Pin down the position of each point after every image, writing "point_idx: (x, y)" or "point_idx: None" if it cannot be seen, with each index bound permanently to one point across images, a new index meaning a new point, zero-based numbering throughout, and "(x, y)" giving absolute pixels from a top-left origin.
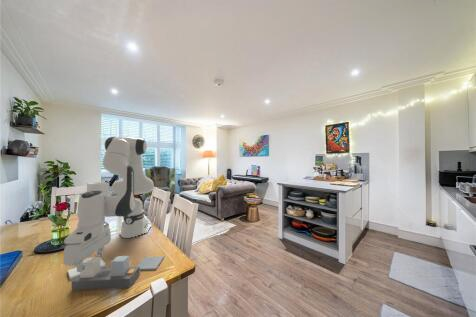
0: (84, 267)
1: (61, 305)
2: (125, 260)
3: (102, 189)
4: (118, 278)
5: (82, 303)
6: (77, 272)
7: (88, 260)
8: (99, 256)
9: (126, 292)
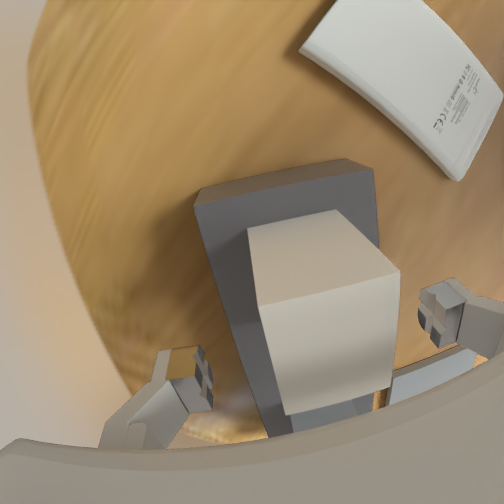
0: (209, 391)
1: (104, 261)
2: None
3: None
4: (273, 435)
5: (148, 344)
6: (364, 48)
7: (324, 345)
8: (429, 327)
9: (247, 433)
